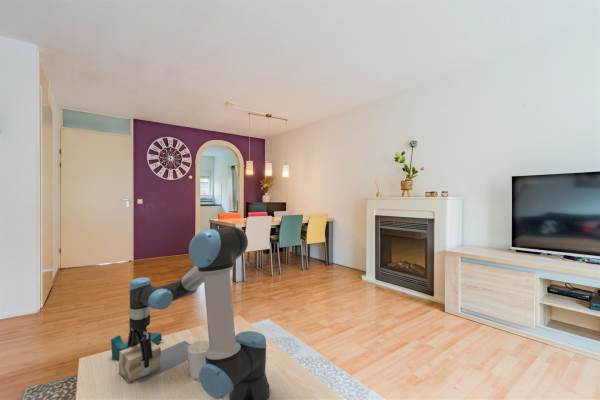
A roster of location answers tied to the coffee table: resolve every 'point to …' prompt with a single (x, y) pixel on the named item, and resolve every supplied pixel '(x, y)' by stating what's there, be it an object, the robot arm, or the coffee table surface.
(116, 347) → the teal l-shaped bracket
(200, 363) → the candle holder
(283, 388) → the coffee table surface
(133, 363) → the block
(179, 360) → the board
